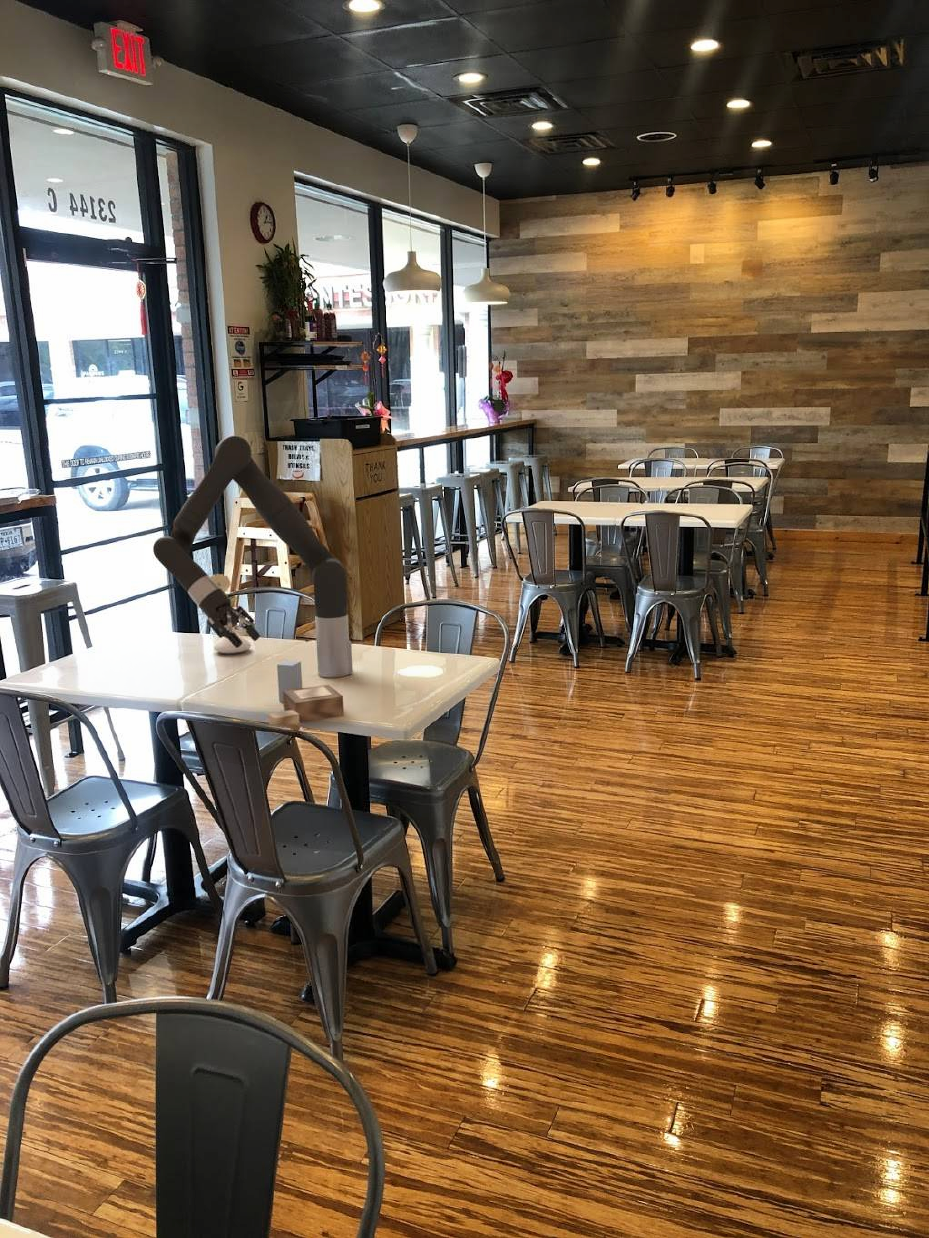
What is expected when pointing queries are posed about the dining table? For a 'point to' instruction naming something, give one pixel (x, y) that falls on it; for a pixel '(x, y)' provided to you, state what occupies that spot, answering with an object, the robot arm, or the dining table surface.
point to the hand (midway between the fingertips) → (249, 642)
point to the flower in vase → (224, 643)
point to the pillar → (289, 676)
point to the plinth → (314, 702)
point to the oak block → (285, 719)
